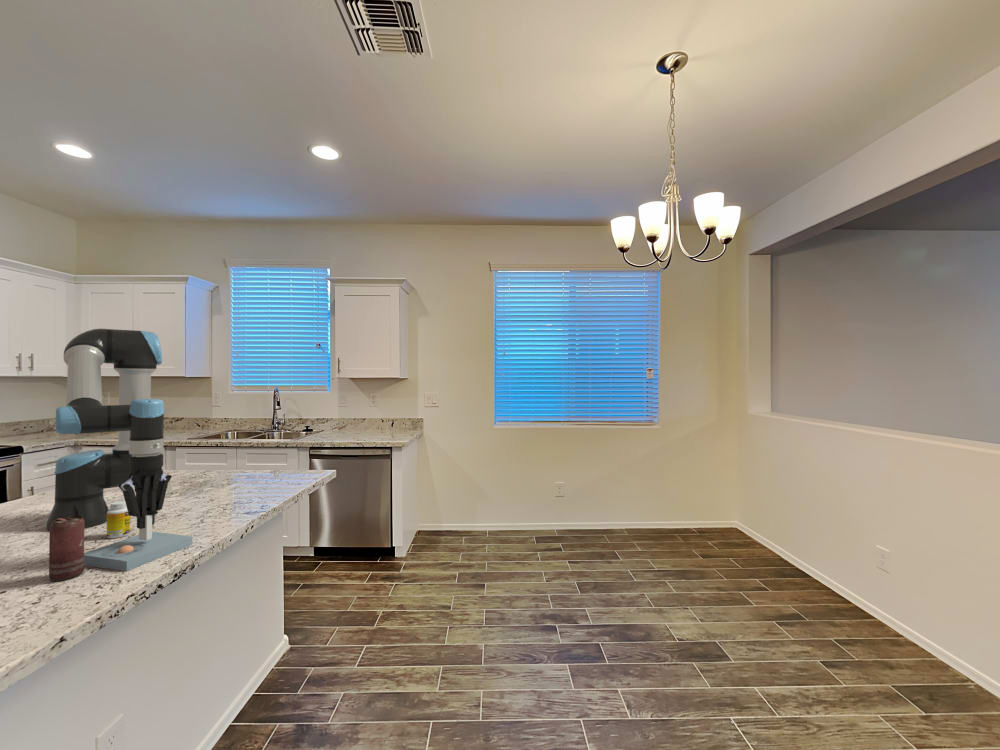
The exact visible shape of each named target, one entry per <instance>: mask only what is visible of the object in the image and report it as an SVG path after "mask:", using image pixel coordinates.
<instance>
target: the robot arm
mask: <svg viewBox="0 0 1000 750" xmlns="http://www.w3.org/2000/svg"><path fill="white" fill-rule="evenodd" d="M162 352H163V351H162V347H161V341H160V339H159V336H158V334H156V333H155V332H153V331H147V330H146V331H145V330H133V329H132V330H130V329H111V328H93V329H89V330H86V331H84V332H82V333H79V334H78V335H76V336H74V337H73V338H72V339H71V340H70V341H69V342H68V343H67V344H66V346H65V348H64V350H63V361H64V363H65V364H66V365H67V372H66V373H67V374H66V375H67V378H66V403H65V404H66V405H65V406H58V407H57V408H56V409H55V432H56V433H58V434H60V435H81V434H93V433H94V434H97V433H107V432H109V433H111V432H113V433H115V432H118V441H117V444H115V445H114V446H113V447H112V453H106V452H105V451H104V449H96V450H87V451H81V452H75V453H71V454H67V455H64V456H62V457H60V458H58V459H57V460H56V462H55V469H54V470H55V471H54V476H55V482H54V486H55V487H54V505H53V507H52V509H51V511H50V515H49V516H48V518H47V521H46V530H48V531H50V525H51V523H52V521H54V520H56V519H58V518H65V517H72V516H82V517H83V519H84V520H85V522H84V529H86V527H87V528H90V527H94V525H95V526H99V525H101V523H102V524H103V522H104V523H106V522H107V511H108V510H110V508H109V506H108V504H107V502H106V500H105V498H104V489H105V490H106V489H114V488H119V490H120V491H121V492H122V494H123V497H124V498H123V499H124V501H125V502H126V506H127V510H128V514H129V516H131V517H134V518H136V528H137V529H139V530H138V535H139V539H142V540H149V539H151V538H152V532H153V526H154V525H155V520H156V519H155V517H156V515H157V514H158V513H159V511H161V510H162V509H163V508H164V507H163V506H164V502H165V499H166V493H167V489H168V485H169V483H170V481H171V479H172V475H171V474H166V473H164V470H163V466H164V454H163V452H164V444H165V443H164V439H165V438H164V425H165V424H164V423H165V418H164V417H165V412H166V410H165V403H164V401H163V400H162V399H161V398H158V399H157V398H151V397H152V396H151V395H152V390H151V389H152V374H153V373H154V372H156V370H157V367H158V366H159V365H162V363H163V354H162ZM103 364H113V369H114V371H115V372H116V373H118V374H119V375H118V376H119V378H118V379H119V381H118V382H119V383H118V385H119V386H118V387H119V389H118V393H119V394H118V404H117V405H116V404H114V405H107V404H106V405H103V392H102V391H103V387H102V366H103ZM105 521H106V522H105ZM98 524H99V525H98Z"/></svg>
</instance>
